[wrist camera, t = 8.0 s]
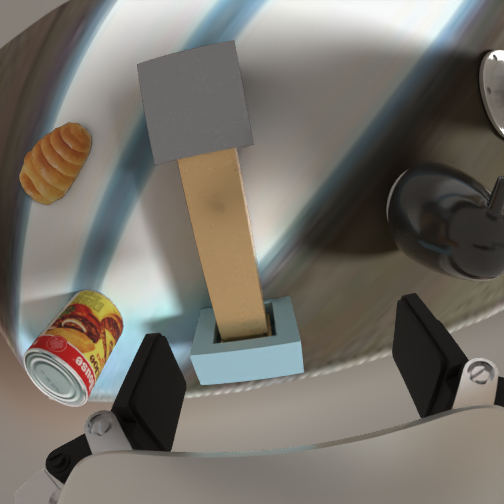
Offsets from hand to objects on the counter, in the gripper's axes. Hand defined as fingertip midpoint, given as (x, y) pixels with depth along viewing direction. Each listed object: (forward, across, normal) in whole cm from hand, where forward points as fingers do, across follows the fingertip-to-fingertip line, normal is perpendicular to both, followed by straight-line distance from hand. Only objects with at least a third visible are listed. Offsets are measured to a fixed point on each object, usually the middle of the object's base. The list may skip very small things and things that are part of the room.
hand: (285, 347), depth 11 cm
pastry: (+19, +21, -10) cm, 31 cm away
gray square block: (+20, +4, -11) cm, 23 cm away
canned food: (+19, +23, +9) cm, 31 cm away
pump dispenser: (+20, -16, +1) cm, 26 cm away
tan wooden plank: (+18, +4, +1) cm, 19 cm away
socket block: (+19, +4, +12) cm, 23 cm away
